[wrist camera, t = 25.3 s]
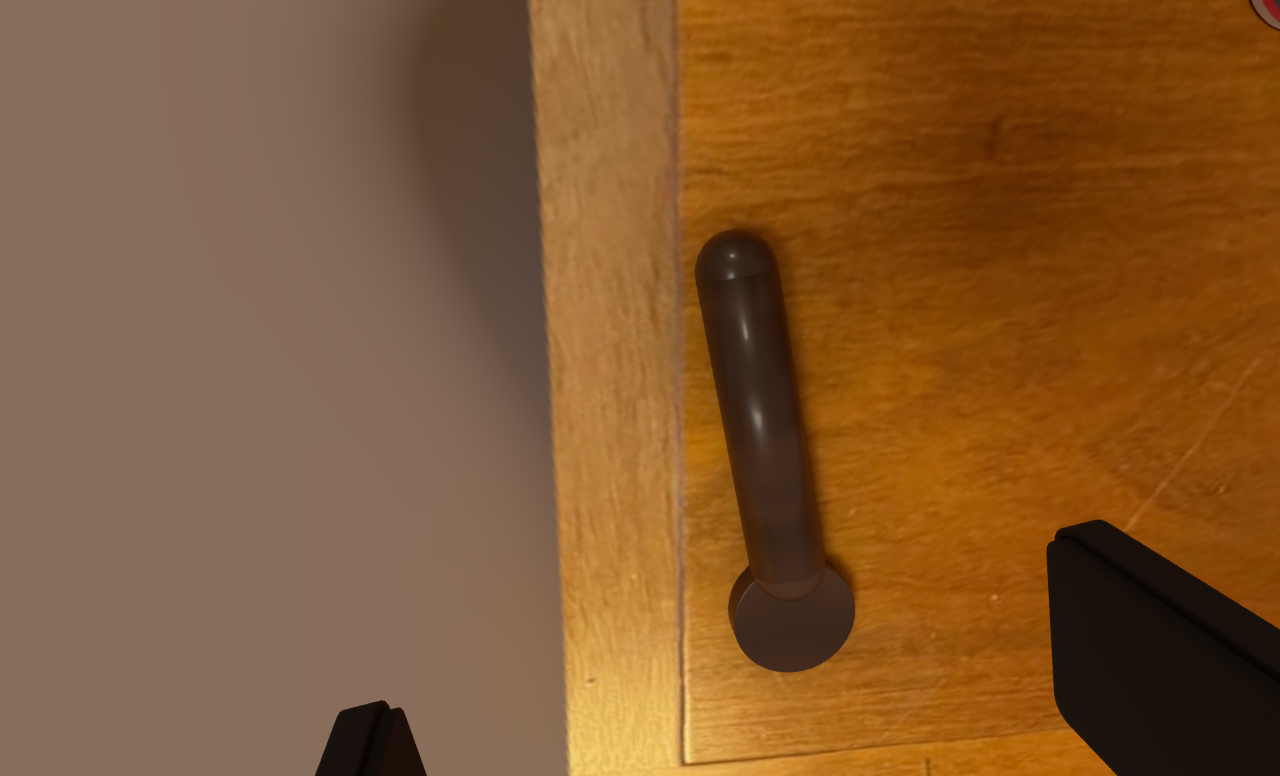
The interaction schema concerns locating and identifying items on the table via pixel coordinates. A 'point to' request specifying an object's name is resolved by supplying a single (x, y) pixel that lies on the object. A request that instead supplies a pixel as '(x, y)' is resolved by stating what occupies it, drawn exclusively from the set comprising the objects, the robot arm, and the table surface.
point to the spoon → (768, 463)
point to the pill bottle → (1269, 11)
